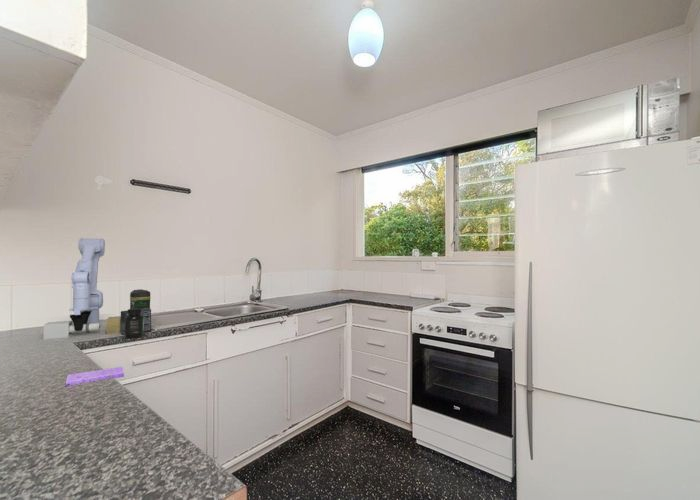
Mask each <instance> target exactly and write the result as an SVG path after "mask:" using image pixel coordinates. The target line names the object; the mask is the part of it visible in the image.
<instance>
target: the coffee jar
mask: <svg viewBox="0 0 700 500" xmlns="http://www.w3.org/2000/svg"><path fill="white" fill-rule="evenodd" d="M129 301H130V302H129V309H132V308H141V309H144V308H147V309H151V291H149V290H147V289H146V290H145V289H134V290H132V291H131V292H130V293H129Z"/></svg>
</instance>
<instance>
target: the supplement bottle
mask: <svg viewBox="0 0 700 500" xmlns="http://www.w3.org/2000/svg"><path fill="white" fill-rule="evenodd" d="M127 310H128V315H127V316H126V317H125V335H124V338H125V339H138V338H142V337H144V335H145V334H144V333H145V332H144V316H143V315H142V314H141V308H132V309H130V308H128V309H127Z"/></svg>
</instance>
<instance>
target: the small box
mask: <svg viewBox="0 0 700 500" xmlns="http://www.w3.org/2000/svg"><path fill="white" fill-rule="evenodd" d="M141 314H142V315H143V316H144V333H150V332H152V308H150V309H147V308H144V309H141ZM127 315H128V309H127V310H121V311H120V316H121V331H120V335H122V336H125V317H126V316H127Z"/></svg>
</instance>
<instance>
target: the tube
mask: <svg viewBox="0 0 700 500" xmlns="http://www.w3.org/2000/svg"><path fill="white" fill-rule="evenodd" d="M100 324H101V323H100V322H99V323H94V324H90V323H86V324H83V328H82V331H75V328H74V324H73V325H69V333H72V334H74V333H83V332H85V334H86V333H90V332H95V331H100V329H101V325H100Z"/></svg>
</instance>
